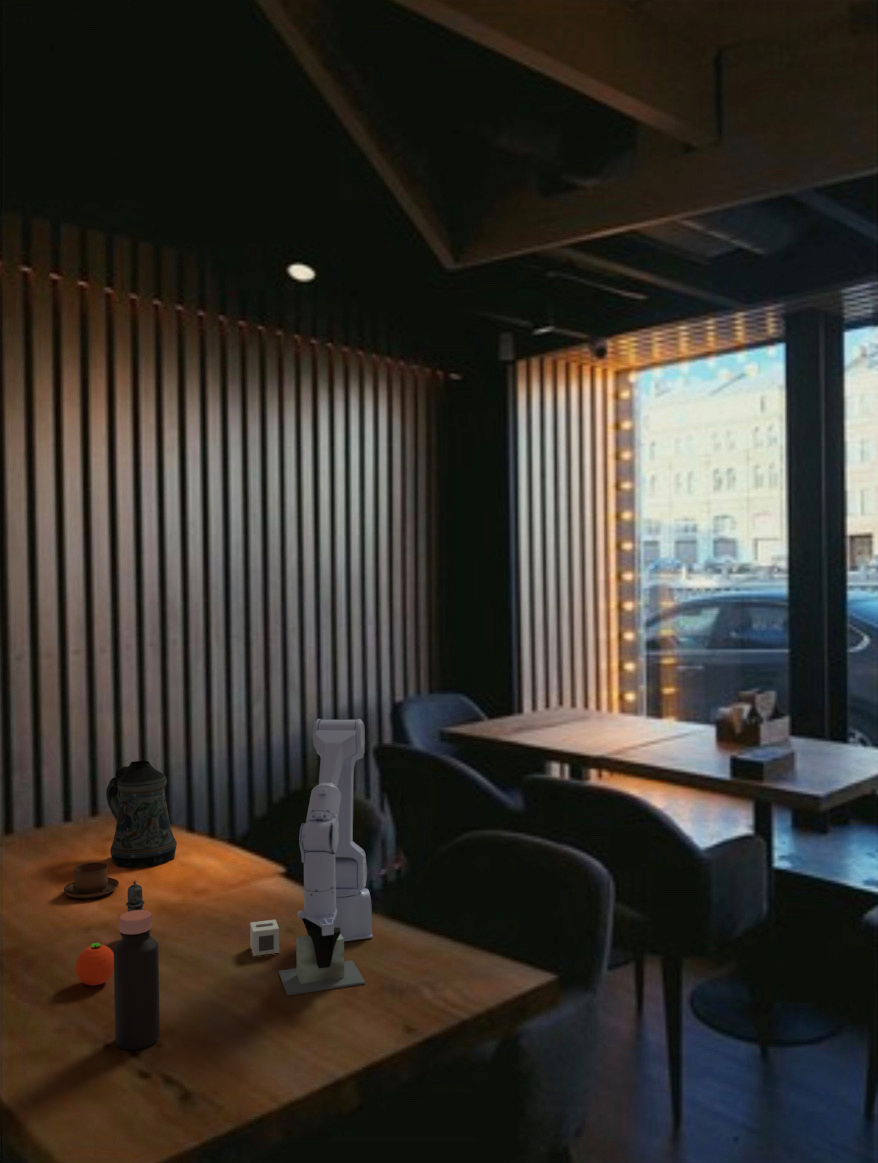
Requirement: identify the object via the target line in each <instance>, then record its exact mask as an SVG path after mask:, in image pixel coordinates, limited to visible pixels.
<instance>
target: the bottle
mask: <svg viewBox="0 0 878 1163" xmlns="http://www.w3.org/2000/svg"><path fill="white" fill-rule="evenodd" d="M118 917H119V919H118V920H119V922H118V925H119V934H120V937H121V939H120V941H119V942H118V943H117V944H116V945H115V947H114V949H113V953H114V973H113V989H114V991H113V992H114V994H113V995H114V1043H115V1044H116V1046H117V1047H118V1048H120V1049H123V1050H126V1051H135V1050H141V1049H145V1048H148V1047H150V1046H152V1045H154V1044H155V1043H157V1041H158V1040H159V1038H160V1032H161V1030H160V1026H161V1025H160V1021H161V1020H160V1016H161V1015H160V967H159V966H160V965H159V964H160V962H159V960H160V959H159V955H160V954H159V943H158V941H157V940H156V939H155V938H154V937H153V936H152V935H151V932H152V927H153V913H152V912H151V911H149V910H146V909H145V910H144V909H143V910H134V911H129V912H128V911H126V912H124V913H122V914H121V915H120V916H118Z"/></svg>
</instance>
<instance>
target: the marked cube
mask: <svg viewBox="0 0 878 1163" xmlns="http://www.w3.org/2000/svg"><path fill="white" fill-rule="evenodd" d="M249 932H250V934H249V937H250V939H249V941H250V942H249V943H250V945H249V946H251V947H250V950H251V949H252V951H251V954H252V953H253V954H252V957H253V956H254V955H262V954H271V953H279V954H280V928H279V925H278V922H277V920H276V919H269V920H261V921H259V920H258V921H252V922H251V921H250V923H249Z"/></svg>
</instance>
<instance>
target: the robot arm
mask: <svg viewBox="0 0 878 1163" xmlns="http://www.w3.org/2000/svg"><path fill="white" fill-rule="evenodd" d="M365 735H366V733H365V724H364V721H362V719H361V718H357V719H321V718H317V719H316V721H315V722H314V723H313V727H312V742H313V743H312V745H313V747H314V749H315V751H316V755H319V757H320V761H319V762H320V763H319V764H320V765H319V775H318V785H317V784H316V786H314V787H313V789H311V793H310V796H309V803H308V808H307V815H306V820H305V823H304V822H302V823H301V825H300V828H299V834H298V835H299V838H298V840H299V841H298V842H299V849H300V855H301V863H302V864H303V889H304V892H303V898H304V899H303V901H304V904H303V906H304V907H303V910H299V911H298V912H297V916H298V918H299V919H301V921H302V922H303V924H304V927H305V929H306V933H307V935H310V937H311V939H312V941H313V944H314V949H315V955H316V961H317V965H318V968H319V969H320V968H327V967H330V965H331V961H332V956H333V951H334V947H335V944H336V941H337V939H338V937H339V935H340V933H341V935H342V937H343V939H344V942H350V941H351V942H352V941H357V940H366V939H372V938H373V933H372V932H373V929H372V928H373V926H372V925H373V921H372V916H373V915H372V899H371V898H372V897H371V894H370V891H369V889H368V888H366V884H367V878H368V877H367V876H368V866H367V856H366V852H365V850H364V849H363V848H362V847H361V846H360V845H359V844H357V843H356V842H355V841H353V832H354V831H353V828H354V827H353V825H354V823H353V822H354V774H355V773H354V770H355V765H356V761H359V760H360V759H363V758H364V754H365V746H366V745H365V744H366V740H365V739H366V736H365Z"/></svg>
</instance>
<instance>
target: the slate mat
mask: <svg viewBox="0 0 878 1163" xmlns="http://www.w3.org/2000/svg"><path fill="white" fill-rule="evenodd" d="M278 975H279V978H280V980H281V983H282V985H283V988H284V991H285V993H286V996H293V995H300V994H308V993H312V992H320V991H329V990H335V989H339V988H347V987H354V986H355V987H356V986H361V985H365V984H366V981H365V979H364V978H363V975H362V973H361V972H360V970H359V968H358V967H357V965H356V963H355V962H354V960H344V978H337V979H331V980H324V981H317V982H310V983H303V984H300V982H299V979H298V977H297V967H296V968H287V969H280V970H278Z"/></svg>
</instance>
